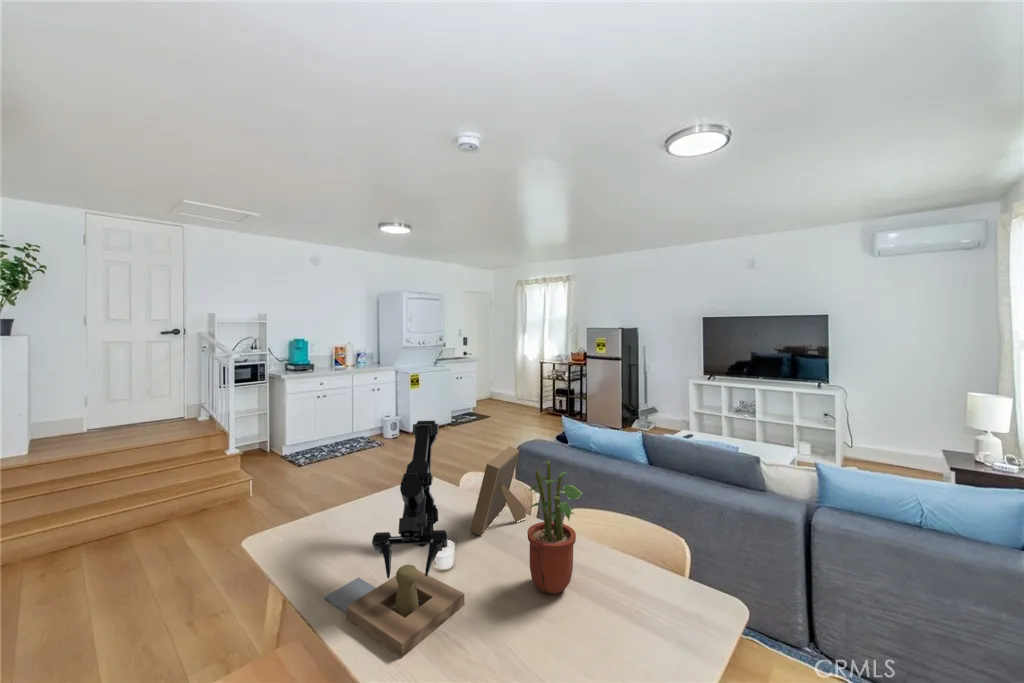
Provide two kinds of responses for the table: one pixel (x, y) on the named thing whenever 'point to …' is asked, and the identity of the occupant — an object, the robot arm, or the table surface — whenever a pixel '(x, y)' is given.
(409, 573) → the olive green pawn
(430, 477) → the robot arm
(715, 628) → the table surface
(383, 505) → the table surface
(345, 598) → the grey mat
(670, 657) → the table surface
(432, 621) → the walnut holder block
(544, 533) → the potted plant
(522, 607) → the table surface
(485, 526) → the photo frame
